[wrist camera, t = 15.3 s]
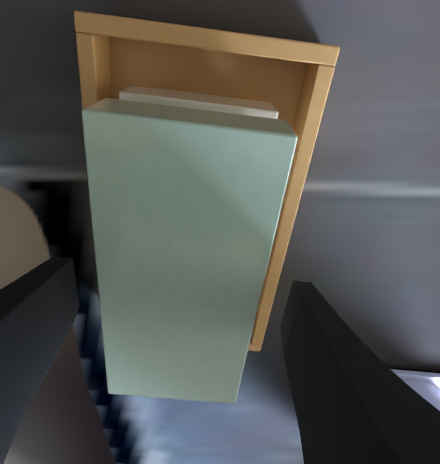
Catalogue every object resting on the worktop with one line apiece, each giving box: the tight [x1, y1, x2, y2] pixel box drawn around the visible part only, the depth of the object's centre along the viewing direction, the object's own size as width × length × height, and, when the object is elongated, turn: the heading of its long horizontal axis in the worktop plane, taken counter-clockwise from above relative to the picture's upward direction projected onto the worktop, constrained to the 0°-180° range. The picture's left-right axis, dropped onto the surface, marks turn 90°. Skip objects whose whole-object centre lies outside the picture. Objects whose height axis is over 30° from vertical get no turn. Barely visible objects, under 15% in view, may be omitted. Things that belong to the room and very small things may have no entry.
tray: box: [74, 11, 340, 351], centre depth 16 cm, size 15×9×2 cm, turn 173°
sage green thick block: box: [81, 98, 298, 404], centre depth 12 cm, size 11×5×3 cm, turn 173°
